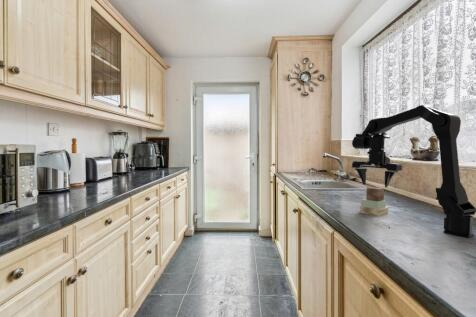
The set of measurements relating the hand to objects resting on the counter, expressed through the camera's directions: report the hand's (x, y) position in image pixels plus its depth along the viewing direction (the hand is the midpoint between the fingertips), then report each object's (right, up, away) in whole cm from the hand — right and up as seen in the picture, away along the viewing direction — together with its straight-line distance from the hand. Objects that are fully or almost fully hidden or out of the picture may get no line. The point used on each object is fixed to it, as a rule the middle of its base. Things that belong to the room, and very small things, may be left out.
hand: (374, 186), depth 115 cm
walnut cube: (0, -6, 0) cm, 6 cm away
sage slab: (-1, -9, 0) cm, 9 cm away
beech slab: (0, -12, 0) cm, 12 cm away
